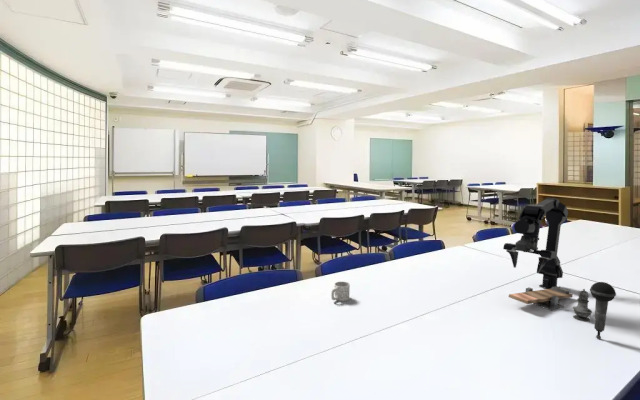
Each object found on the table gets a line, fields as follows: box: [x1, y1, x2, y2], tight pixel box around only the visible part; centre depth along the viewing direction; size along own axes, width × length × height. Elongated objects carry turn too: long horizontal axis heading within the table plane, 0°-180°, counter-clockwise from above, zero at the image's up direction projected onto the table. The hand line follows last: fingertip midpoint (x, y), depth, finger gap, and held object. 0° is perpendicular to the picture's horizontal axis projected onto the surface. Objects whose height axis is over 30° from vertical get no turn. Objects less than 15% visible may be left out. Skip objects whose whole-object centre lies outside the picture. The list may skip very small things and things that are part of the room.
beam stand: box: [525, 286, 565, 312], centre depth 146 cm, size 8×14×5 cm, turn 26°
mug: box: [330, 281, 351, 302], centre depth 150 cm, size 10×7×7 cm
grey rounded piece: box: [572, 288, 593, 323], centre depth 130 cm, size 6×6×12 cm
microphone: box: [589, 281, 617, 340], centre depth 115 cm, size 7×7×20 cm
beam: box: [508, 286, 573, 305], centre depth 145 cm, size 32×8×2 cm, turn 117°
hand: (525, 270), depth 146 cm, fingers open, 9 cm apart
